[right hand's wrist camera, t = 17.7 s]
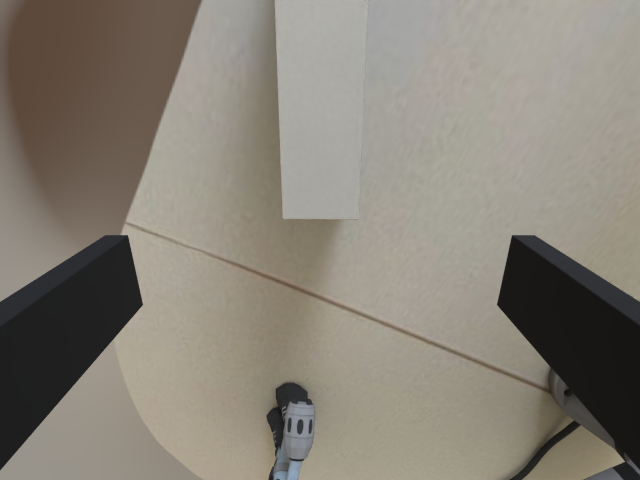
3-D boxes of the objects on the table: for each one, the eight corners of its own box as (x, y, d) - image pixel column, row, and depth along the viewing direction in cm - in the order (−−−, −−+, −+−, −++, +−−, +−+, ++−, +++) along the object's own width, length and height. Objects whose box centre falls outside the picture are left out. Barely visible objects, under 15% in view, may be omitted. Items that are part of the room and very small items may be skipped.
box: (348, 189, 37) (358, 219, 28) (291, 189, 37) (282, 219, 27) (358, -83, 28) (376, -169, 19) (284, -84, 28) (268, -170, 19)
